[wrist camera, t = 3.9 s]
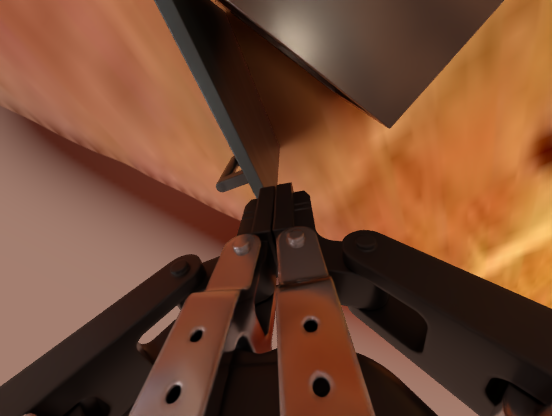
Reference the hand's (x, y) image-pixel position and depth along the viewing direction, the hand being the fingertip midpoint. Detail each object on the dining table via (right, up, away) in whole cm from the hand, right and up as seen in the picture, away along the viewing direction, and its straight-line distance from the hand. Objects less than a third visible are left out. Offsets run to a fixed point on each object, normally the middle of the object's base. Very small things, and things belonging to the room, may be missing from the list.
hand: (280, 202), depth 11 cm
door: (-6, +15, +20) cm, 26 cm away
